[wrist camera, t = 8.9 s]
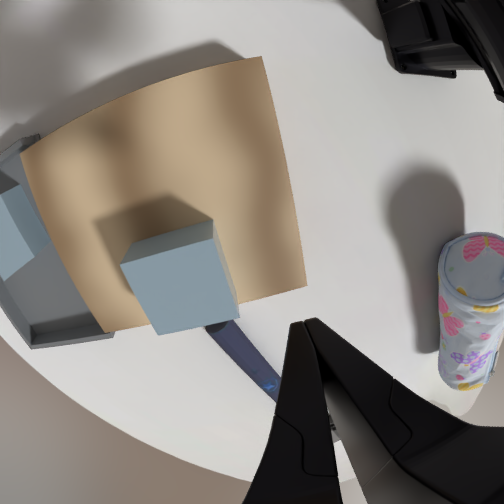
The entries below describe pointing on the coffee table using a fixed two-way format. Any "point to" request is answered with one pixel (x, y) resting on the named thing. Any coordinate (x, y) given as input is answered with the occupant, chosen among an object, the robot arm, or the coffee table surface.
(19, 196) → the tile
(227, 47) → the coffee table surface
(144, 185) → the oak board
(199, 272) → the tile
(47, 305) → the tray
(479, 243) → the pencil case
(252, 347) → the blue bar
